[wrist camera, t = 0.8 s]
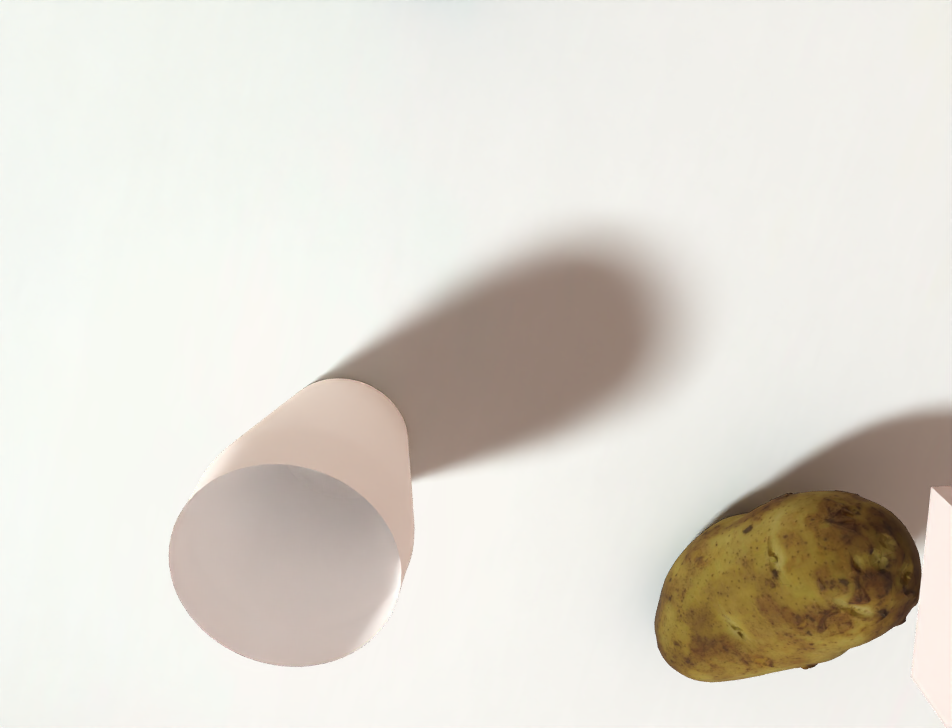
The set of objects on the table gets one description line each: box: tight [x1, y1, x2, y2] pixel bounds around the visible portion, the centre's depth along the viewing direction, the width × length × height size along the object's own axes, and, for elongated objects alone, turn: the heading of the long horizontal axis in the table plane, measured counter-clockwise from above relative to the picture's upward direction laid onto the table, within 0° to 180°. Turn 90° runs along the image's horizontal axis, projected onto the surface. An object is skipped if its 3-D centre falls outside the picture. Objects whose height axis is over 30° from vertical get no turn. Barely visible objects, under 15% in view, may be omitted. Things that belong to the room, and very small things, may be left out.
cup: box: [169, 378, 414, 667], centre depth 36 cm, size 9×9×12 cm
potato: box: [655, 490, 922, 682], centre depth 39 cm, size 8×13×8 cm, turn 118°
